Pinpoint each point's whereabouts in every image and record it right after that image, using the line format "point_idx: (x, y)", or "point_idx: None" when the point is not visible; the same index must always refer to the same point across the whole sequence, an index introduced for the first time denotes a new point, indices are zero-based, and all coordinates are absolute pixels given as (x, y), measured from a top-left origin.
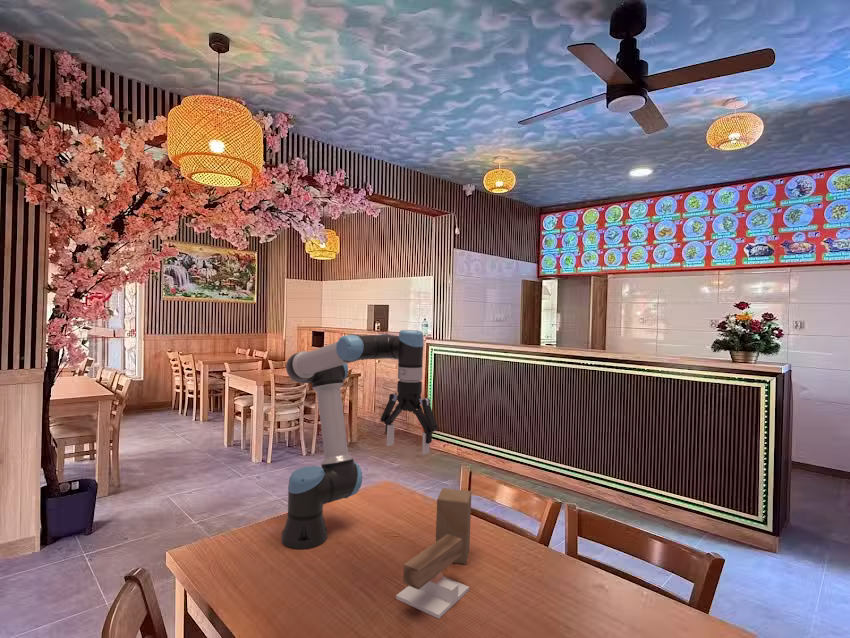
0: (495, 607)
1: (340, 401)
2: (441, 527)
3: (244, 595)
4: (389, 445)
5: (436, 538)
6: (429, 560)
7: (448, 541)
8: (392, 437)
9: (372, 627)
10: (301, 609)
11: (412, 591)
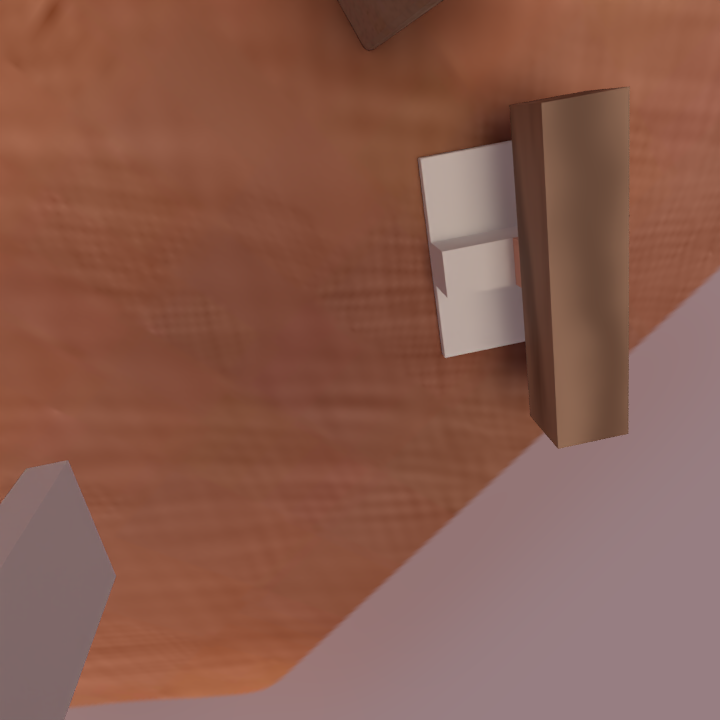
0: (715, 136)
1: None
2: (422, 13)
3: (133, 648)
4: (104, 559)
5: (385, 37)
6: (617, 358)
7: (590, 168)
8: (33, 587)
9: (485, 474)
10: (293, 568)
11: (469, 304)
